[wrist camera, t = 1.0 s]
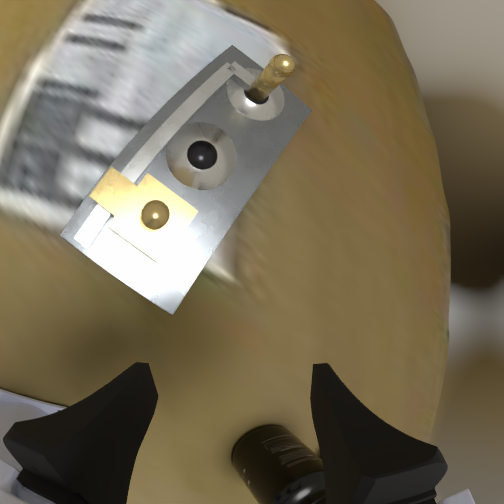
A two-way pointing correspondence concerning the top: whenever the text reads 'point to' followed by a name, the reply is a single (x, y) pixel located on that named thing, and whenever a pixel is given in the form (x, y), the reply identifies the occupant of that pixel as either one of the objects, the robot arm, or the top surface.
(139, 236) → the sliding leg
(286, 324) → the top surface
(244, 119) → the bolt plate
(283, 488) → the supplement bottle
